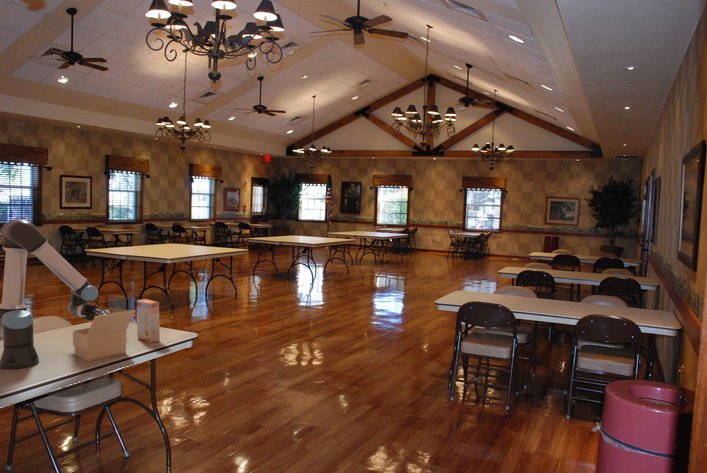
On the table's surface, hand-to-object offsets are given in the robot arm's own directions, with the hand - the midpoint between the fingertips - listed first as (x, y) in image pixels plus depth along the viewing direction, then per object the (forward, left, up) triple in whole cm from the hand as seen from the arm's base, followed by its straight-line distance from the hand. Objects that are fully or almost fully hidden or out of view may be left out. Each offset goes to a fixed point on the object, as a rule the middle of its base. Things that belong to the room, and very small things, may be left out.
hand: (110, 318), depth 254 cm
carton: (0, +11, -19) cm, 22 cm away
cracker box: (+29, +19, -19) cm, 40 cm away
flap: (0, 0, -2) cm, 2 cm away
